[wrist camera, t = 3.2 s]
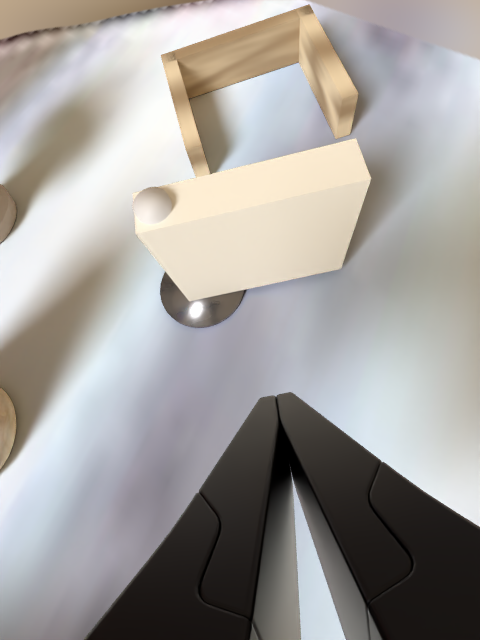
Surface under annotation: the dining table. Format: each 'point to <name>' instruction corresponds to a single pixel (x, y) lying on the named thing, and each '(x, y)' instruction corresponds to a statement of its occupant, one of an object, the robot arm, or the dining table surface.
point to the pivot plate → (197, 305)
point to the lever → (255, 220)
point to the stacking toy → (6, 426)
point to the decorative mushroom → (6, 213)
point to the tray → (260, 70)
